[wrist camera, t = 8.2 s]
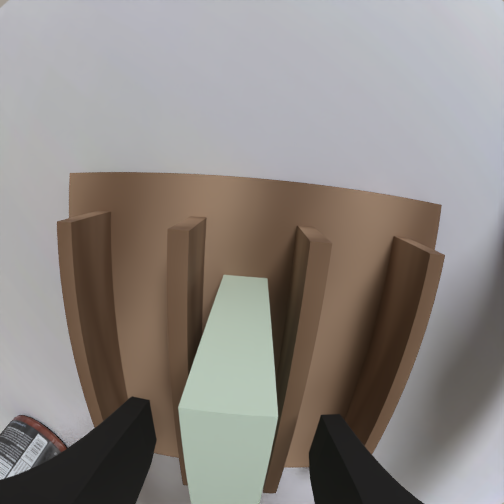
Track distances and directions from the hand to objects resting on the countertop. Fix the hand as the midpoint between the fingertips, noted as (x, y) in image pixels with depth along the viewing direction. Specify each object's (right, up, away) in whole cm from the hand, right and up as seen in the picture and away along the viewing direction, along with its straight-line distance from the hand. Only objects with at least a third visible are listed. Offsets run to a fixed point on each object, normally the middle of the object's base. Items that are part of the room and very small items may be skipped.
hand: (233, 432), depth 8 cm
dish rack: (0, +1, +5) cm, 5 cm away
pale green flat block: (0, +1, +4) cm, 4 cm away
